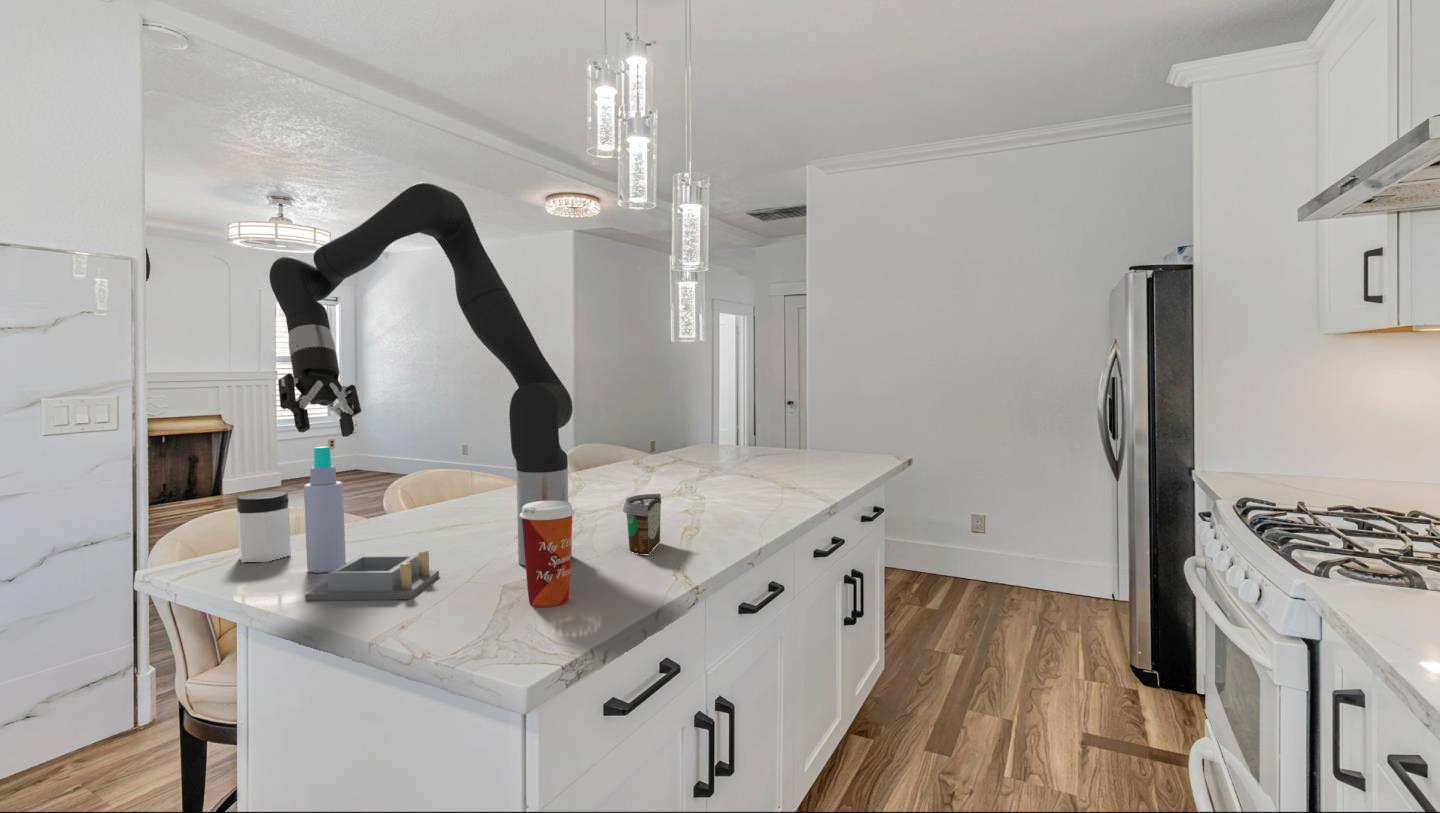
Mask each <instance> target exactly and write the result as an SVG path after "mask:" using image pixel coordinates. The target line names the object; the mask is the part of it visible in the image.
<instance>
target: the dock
mask: <svg viewBox="0 0 1440 813" xmlns="http://www.w3.org/2000/svg"><path fill="white" fill-rule="evenodd" d="M438 576H439V577H440V570H430V552H429V550H426V549H425V550H420V551H418V554H411V555H408V554H407V555H404V554H403V555H402V554H399V555H398V554H393V555H384V554H383V555H379V554H378V555H358V556H356V557H354V558H352V559H351V560H349V561H346V563H345V564H344V565H342V566H340V567H338V568H336V569H334V570H333V571H331V572H327V581H326V582H325V583H323V584H320V585H319V586H317V587H316V588H313V589H312V590H310V591H309V592H307V593H305V594H304V595H305V596H304V597H305V602H307V600H309V602H310V601H311V600H312V601H389V600H390V601H393V600H395V601H397V600H398V599H400V600H399V601H401V599H405V600H406V599H409V600H411V599H412V598H413V597H414V596H416V595H417V594H418V593H420V592H421V591H422V590H423V589H425V588H427V586H429V584H431V583H433V581H435V580H436V579H437V578H439V577H438ZM415 594H416V595H415ZM396 599H397V600H396ZM405 600H404V601H405ZM406 601H407V600H406Z"/></svg>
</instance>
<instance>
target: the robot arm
mask: <svg viewBox="0 0 1440 813" xmlns="http://www.w3.org/2000/svg"><path fill="white" fill-rule="evenodd" d="M415 234H422V235H425V236H429V237H433V238H434V240H436V241H437V243H438V245H439V246H440V247H441V249H442V250H443V252H444V254H445V256H446V257H447V259H448V261H449V263H450V265H451V267H452V270H453V274H454V275H453V276H454V283H455V284H454V285H455V293H456V299H457V302H458V305H459V308H460V310H461V311H462V314H463V315H464V318H465V319H466V321H467V322H468V324H469V327H470V328H471V330H472V331H473V333H474V334H475V336H476V337H477V339H479V340H480V342H481V343H482V344H483V345H484V346H485V347H486V348H487V349H488V351H490V352H491V353H492V354H493V356H494V357H496V358H497V359H498V360H499V361H500V362H501V363H502V364H503V365H504V366H505V368H506V369H507V370H508V372H509V373H510V374H511V376H512V377H513V379H514V381H515V382H516V385H517V387H518V388H517V389H516V390H515V391H514V392H513V394H512V396H511V398H510V403H509V412H508V413H509V414H508V415H509V417H508V418H509V431H510V432H509V433H510V444H511V445H510V446H511V452H512V456H513V458H514V459H515V465H516V466H515V468H516V474H515V475H516V505H517V506H516V508H517V509H516V510H517V511H516V513H517V514H516V515H517V516H516V517H517V518H516V519H517V555H518V564H520V565H521V566H525V567H526V563H525V551H524V538H523V526H522V518H521V517H520V516H519V515H520V513H521V512H522V507H523V506H524V505H525V504H528V503H532V502H538V501H565V502H569V480H568V479H569V476H568V475H569V474H568V471H569V469H568V467H569V465H568V464H569V460H568V454H567V452H565V451H564V450H563V449H562V447H561V445H560V435H559V430H560V429H561V428H563V427H565V426H566V425H567V424H568V423H569V421H570V420H571V418H572V415H573V411H574V410H573V400H572V398H571V394H570V393H569V391H568V390H567V388H566V387H565V385H564V384H563V383H562V380H561V379H560V378H559V377H558V375H557V374H556V372H555V371H554V369H553V368H552V366H551V365H550V364H549V362H548V361H547V359H546V358H545V357H544V354H543V353H542V351H541V349H540V347H539V346H538V344H537V342H536V340H535V338H534V336H533V333H532V332H531V330H530V328H529V326H528V325H527V323H526V321H525V319H524V317H523V315H522V313H521V312H520V309H519V307H518V305H517V304H516V301H515V299H513V296H512V295H511V293H510V291H509V289H508V287H507V285H506V284H505V282H504V281H503V279H502V278H501V276H500V274H499V272H498V270H497V269H496V267H495V265H494V263H493V262H492V260H491V258H490V257H489V255H488V253H487V251H486V249H485V248H484V246H483V244H482V242H481V239H480V236H479V235H478V232H477V230H476V228H475V225H474V223H473V221H472V218H471V215H470V213H469V211H468V209H467V207H466V204H465V203H464V202H463V200H462V198H460V197H459V196H458V195H457V194H455V193H454V192H453V191H450V190H448V189H446V188H444V187H441V186H438V185H437V184H433V183H430V182H429V183H428V182H424V181H423V182H418V183H417V182H416V183H414V184H412V185H410V186H409V187H407V188H406V189H405V190H403V191H402V192H400V193H399V194H398V195H396V197H394V198H393V199H392V200H391V201H389V202H388V203H387V204H386V205H384V206H383V207H382V208H380V209H379V210H378V211H377V212H375V213H373V215H372V216H371V217H369V218H368V219H366V220H365V221H364V222H361V224H359V225H357V226H356V227H355V228H353V229H351V230H350V231H348V232H346V233H344V234H342V235H341V236H339V237H337V238H335V239H332V240H331V241H329V242H327V243H325V244H323V245H322V246H321V245H320V247H319V248H318V249H316V250H315V251H314V254H313V262H314V265H312V264H310V263H308V262H306V261H304V260H301V259H299V258H296V257H294V256H289V255H286V256H281V257H279V258H277V259H276V260H275V261H274V262H273V263H272V265H271V267H270V270H269V283H270V287H271V290H272V292H273V294H274V297H275V298H276V301H277V303H278V305H279V306H280V309H281V310H282V312H283V314H284V316H285V322H286V327H287V333H288V348H289V356H290V361H291V368H292V373H287V374H285V375H284V376H282V377H281V378H280V379H278V381H277V382H278V395H279V405H280V407H281V409H283V410H289V411H291V413H292V415H293V419H294V426H295V427H296V430H297V431H298V433H305V432H307V431H309V430H310V429H311V426H310V418H309V412H308V409H307V406H308V405H309V404H310V405H319V406H325V407H327V408H329V410H331V411H332V412H334V413H335V414H336V415H337V416H338V417H339V427H340V432H341V436H342V437H345V438H347V437H350V436H351V435H353V433H354V431H355V425H354V419H353V418H354V417H355V416H357V415H358V414H360V413H361V412H362V409H361V408H362V407H361V404H360V400H359V396H358V392H357V388H356V385H354V384H350V385H348V386H346V385H342V384H341V383H340V381H339V375H340V367H339V363H338V356H337V351H336V345H335V340H334V337H333V335H332V332H331V325H330V322H329V320H330V319H329V315H328V311H327V309H326V307H325V306H324V305H322V304H321V302H319V301H322V300H324V299H327V298H328V296H330V295H331V294H332V293H333V292H334V291H335V290H336V289H337V288H338V286H340V284H342V282H343V281H344V280H345V279H347V278H349V277H351V276H353V275H355V274H357V273H359V272H361V271H362V270H365V269H366V268H368V267H370V266H371V265H373V264H374V263H375V262H376V261H377V260H378V259H379V258H380V256H381V255H382V254H383V252H385V250H386V249H387V247H389V246H390V245H391V244H392V243H394V242H396V241H398V240H400V239H403V238H405V237H408V236H411V235H415ZM295 388H296V390H298V392H299V393H300V394H299V396H298V397H297V399H296V390H295ZM336 400H337V403H336ZM572 542H573V540H572V538H571V557H572V555H573V553H572V552H573V547H572V545H573V544H572Z"/></svg>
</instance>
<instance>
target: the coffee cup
mask: <svg viewBox="0 0 1440 813" xmlns="http://www.w3.org/2000/svg"><path fill="white" fill-rule="evenodd" d="M575 512H576V511H575V510H574V509H573V507H572V504H571V503H570V502H569V501H568V502H565V501H538V502H532V503H528V504H525V505H524V506H523V507H522V512H521V513H520V515H519V516H520V517H521V518H522V526H523V538H524V551H525V563H526V566H525V573H526V584H527V585H526V586H527V596H528V602H529V605H530V606H533V607H537V608H552V607H558V606H562V605H564V604H566V603H567V602H568V601H569V597H570V596H569V595H570V584H571V583H570V581H571V560H572V559H571V558H572V556H571V538H572V532H573V516H574V515H575V514H576V513H575ZM565 602H566V603H565ZM561 604H562V605H561Z"/></svg>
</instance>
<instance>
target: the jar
mask: <svg viewBox="0 0 1440 813" xmlns="http://www.w3.org/2000/svg"><path fill="white" fill-rule="evenodd" d="M289 502H290V501H289V496H288V492H285V491H261V492H260V491H259V492H254V493H246V494H243V495H239V496H238V497H236V506H237V507H236V510H237V512H236V514H237V532H238V535H237V537H238V555H239V559H240V561H241V564H244V563H243V562H261V563H270V562H269V561H271V562H273V561H272V560H274V561H277V560H276V559H278V560H281V559H280V558H282V559H284V558H283V557H285V558H288V557H287V556H289V557H291V556H292V552H291V551H292V547H291V546H292V545H291V525H290V524H291V522H290V508H289ZM290 555H291V556H290Z"/></svg>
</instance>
